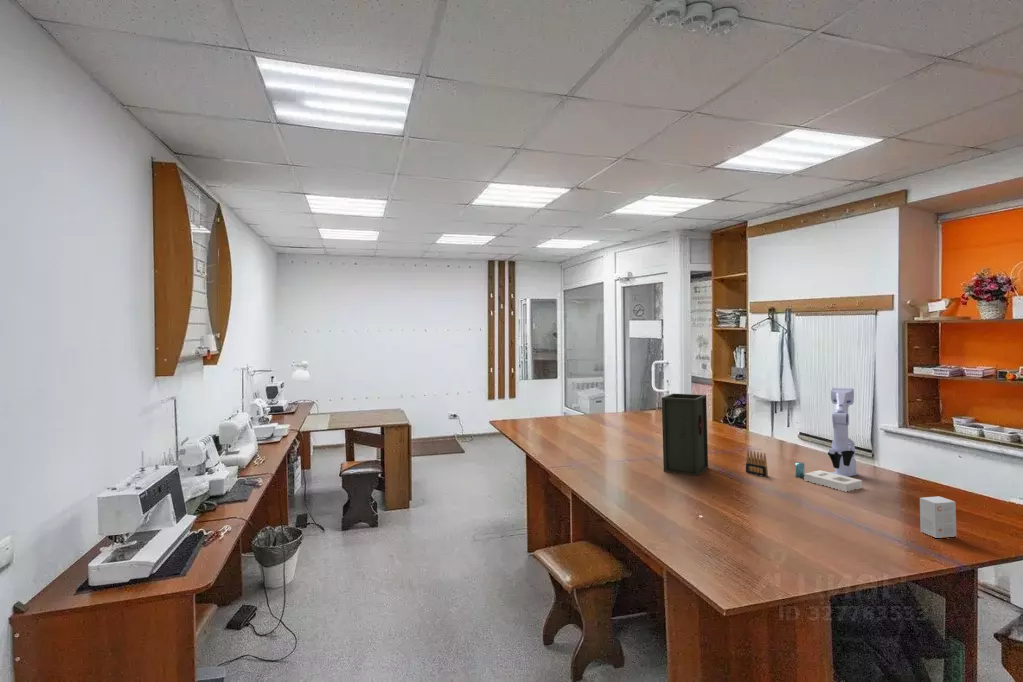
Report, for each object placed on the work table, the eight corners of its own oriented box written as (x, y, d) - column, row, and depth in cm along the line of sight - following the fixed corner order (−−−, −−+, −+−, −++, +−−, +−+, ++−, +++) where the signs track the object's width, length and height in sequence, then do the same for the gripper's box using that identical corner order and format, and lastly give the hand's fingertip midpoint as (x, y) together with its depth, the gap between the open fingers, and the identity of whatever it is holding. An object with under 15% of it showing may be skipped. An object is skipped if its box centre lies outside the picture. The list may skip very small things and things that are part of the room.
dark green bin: (674, 463, 284) (672, 393, 283) (708, 467, 273) (706, 395, 272) (663, 471, 269) (661, 397, 268) (698, 476, 258) (696, 399, 257)
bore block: (820, 477, 250) (819, 470, 250) (862, 487, 231) (861, 480, 231) (804, 480, 245) (804, 473, 245) (845, 492, 227) (845, 484, 226)
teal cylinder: (799, 475, 254) (798, 461, 253) (806, 477, 250) (806, 463, 250) (793, 476, 252) (793, 462, 252) (801, 478, 248) (800, 464, 248)
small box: (939, 531, 182) (939, 495, 182) (957, 538, 176) (956, 501, 176) (919, 532, 181) (919, 497, 181) (936, 539, 175) (935, 503, 175)
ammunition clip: (767, 476, 254) (767, 452, 254) (766, 476, 253) (765, 453, 253) (747, 471, 263) (746, 449, 262) (745, 472, 262) (745, 449, 261)
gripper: (839, 441, 227) (840, 471, 227) (859, 437, 233) (859, 466, 233) (824, 438, 233) (825, 467, 234) (844, 435, 239) (844, 463, 240)
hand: (841, 466), depth 234 cm, fingers open, 7 cm apart
